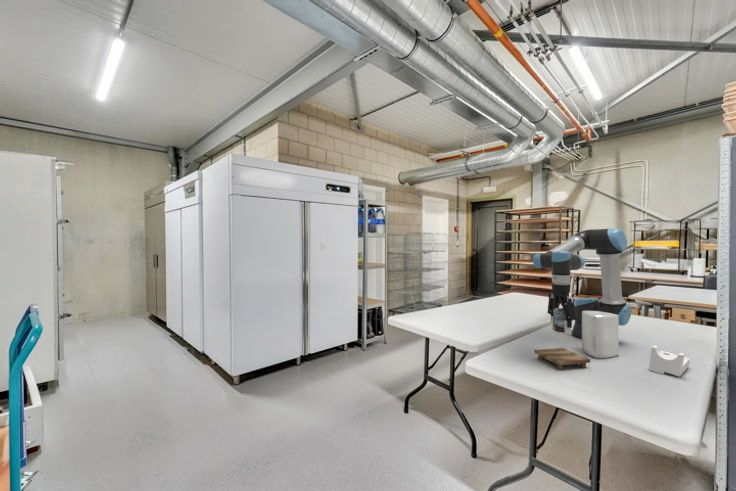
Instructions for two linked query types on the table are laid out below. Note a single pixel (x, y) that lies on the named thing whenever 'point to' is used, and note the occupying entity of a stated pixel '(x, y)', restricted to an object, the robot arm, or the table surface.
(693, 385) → the table surface
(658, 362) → the white pipe support bracket
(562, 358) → the wooden serving board
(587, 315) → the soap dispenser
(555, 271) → the robot arm
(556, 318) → the beverage can
